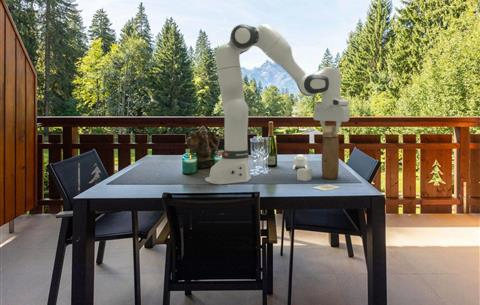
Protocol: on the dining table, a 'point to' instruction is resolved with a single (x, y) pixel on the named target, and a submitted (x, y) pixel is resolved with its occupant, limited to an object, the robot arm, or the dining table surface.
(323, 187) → the card
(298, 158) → the white figurine
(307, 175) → the grey cube
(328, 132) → the oak cube
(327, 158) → the block
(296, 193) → the dining table surface
